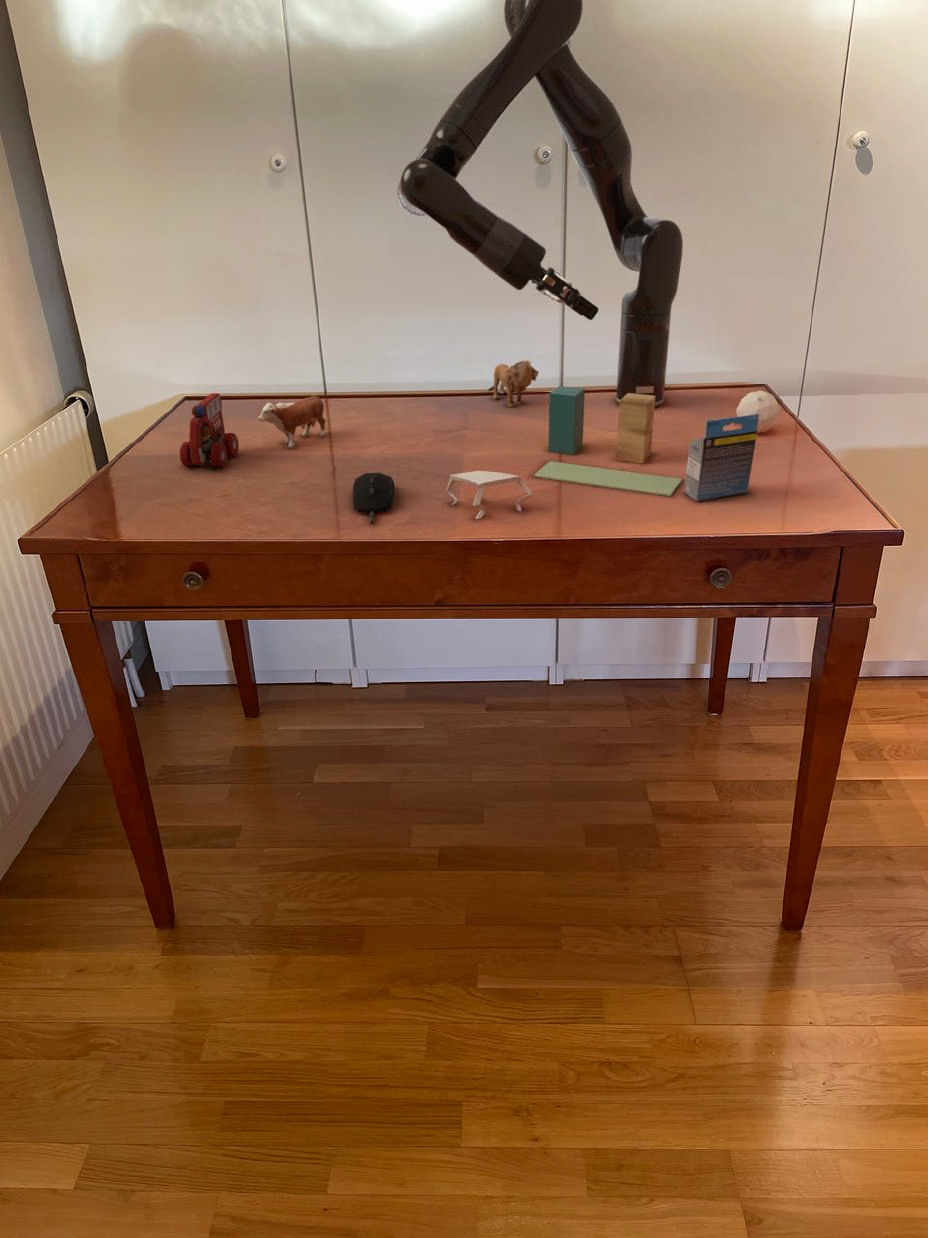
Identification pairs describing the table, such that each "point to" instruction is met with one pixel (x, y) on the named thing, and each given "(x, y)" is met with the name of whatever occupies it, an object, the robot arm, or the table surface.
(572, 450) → the teal block
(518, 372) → the lion figurine
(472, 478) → the beige toy table
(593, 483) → the sage strip
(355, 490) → the gaming mouse
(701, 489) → the label tape box
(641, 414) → the birch block
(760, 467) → the table surface
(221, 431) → the toy fire truck
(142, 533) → the table surface
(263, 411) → the bull figurine
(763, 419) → the ornament
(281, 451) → the table surface
